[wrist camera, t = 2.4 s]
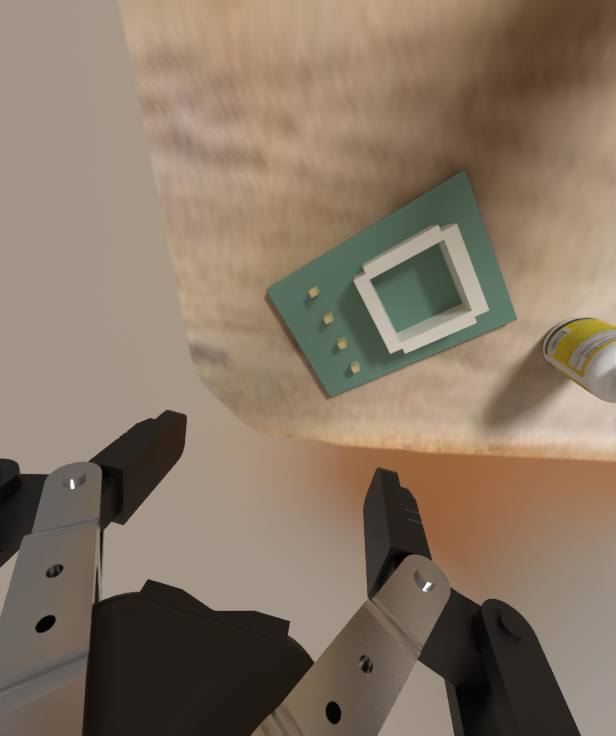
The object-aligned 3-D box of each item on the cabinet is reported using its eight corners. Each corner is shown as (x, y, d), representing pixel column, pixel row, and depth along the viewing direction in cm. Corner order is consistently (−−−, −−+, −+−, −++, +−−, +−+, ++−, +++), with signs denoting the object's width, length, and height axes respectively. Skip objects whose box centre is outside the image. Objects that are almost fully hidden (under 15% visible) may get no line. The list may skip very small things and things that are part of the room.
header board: (461, 171, 25) (477, 161, 22) (512, 316, 29) (533, 328, 26) (268, 288, 32) (256, 295, 29) (331, 393, 36) (327, 411, 33)
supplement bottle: (610, 356, 29) (715, 410, 21) (546, 375, 31) (618, 433, 22) (601, 305, 28) (712, 341, 19) (535, 328, 29) (608, 371, 21)
